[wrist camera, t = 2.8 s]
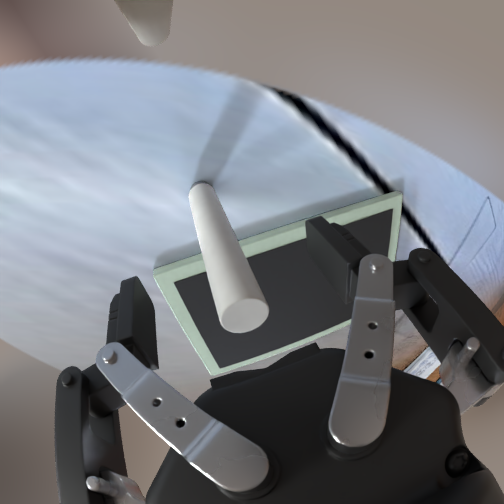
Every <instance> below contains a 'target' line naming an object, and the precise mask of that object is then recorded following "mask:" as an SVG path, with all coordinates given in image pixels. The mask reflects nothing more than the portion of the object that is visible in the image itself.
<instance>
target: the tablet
mask: <svg viewBox="0 0 504 504" xmlns="http://www.w3.org/2000/svg"><path fill="white" fill-rule="evenodd" d="M402 198H403V194H402V193H400V192H399V191H394V192H391V193H388V194H384V195H381V196H378V197H375V198H371V199H368V200H365V201H362V202H358V203H355V204H352V205H349V206H346V207H342V208H339V209H336V210H333V211H330V212H326V213H323V214H320V215H317V216H322V217H324V218H325V219H326V220H327V221H328V222H329V223H333V222H335V223H337V224H339V225H342V226H344V227H345V228H346V229H347V230H348V231H349V232H350V233H351V234H352V235H353V236H354V237H355V238H356V239H357V240H358V241H360V242H361V243H362V244H363V245H364V246H365V247H366V248H367V249H368V250H369V251H370V252H371V253H372V254H380V255H384V256H386V257H388V258H389V259H390V260H391V261H392V262H395V256H396V249H397V242H398V235H399V227H400V218H401V209H402ZM317 216H314V217H317ZM314 217H311V218H314ZM311 218H307V219H304V220H301V221H298V222H295V223H292V224H289V225H286V226H283V227H279V228H276V229H273V230H270V231H267V232H264V233H261V234H258V235H255V236H252V237H249V238H246V239H243V240H240V241H238V242H239V244H240V246H241V248H242V251H243V253H244V255H245V257H246V259H247V261H248V263H249V266H250V268H251V270H252V272H253V274H254V276H255V278H256V280H257V283H258V285H259V287H260V289H261V291H262V293H263V295H264V297H265V300H266V302H267V304H268V306H269V314H268V317H267V319H266V320H265V321H264V322H263V323H262V324H261V325H260V326H259V327H257V328H256V329H254V330H251V331H248V332H244V333H233V332H230V331H227V330H226V329H225V328H223V326H222V325H221V323H220V320H219V316H218V313H217V309H216V306H215V302H214V298H213V295H212V291H211V287H210V283H209V280H208V276H207V272H206V268H205V264H204V260H203V256H202V253H200V254H197V255H194V256H191V257H188V258H185V259H183V260H180V261H177V262H174V263H171V264H168V265H165V266H162V267H159V268H156V269H153V277H154V279H155V281H156V283H157V284H158V286H159V288H160V290H161V292H162V294H163V296H164V297H165V299H166V301H167V303H168V305H169V306H170V308H171V310H172V312H173V313H174V315H175V317H176V319H177V320H178V322H179V324H180V325H181V327H182V329H183V331H184V332H185V334H186V336H187V337H188V339H189V341H190V342H191V344H192V345H193V347H194V349H195V350H196V352H197V353H198V355H199V357H200V358H201V360H202V361H203V363H204V365H205V366H206V368H207V369H208V371H209V372H210V374H211V375H212V376H214V375H217V374H220V373H223V372H227V371H230V370H233V369H236V368H239V367H242V366H245V365H248V364H251V363H254V362H257V361H260V360H263V359H265V358H268V357H271V356H274V355H276V354H279V353H282V352H284V351H287V350H290V349H292V348H295V347H297V346H300V345H302V344H305V343H307V342H310V341H312V340H315V339H317V338H320V337H322V336H324V335H327V334H329V333H331V332H334V331H336V330H338V329H340V328H343V327H345V326H347V325H349V324H351V319H352V313H353V306H354V301H353V302H350V303H348V304H345V303H344V301H343V300H342V299H341V297H340V296H339V295H338V293H337V292H336V291H335V289H334V288H333V287H332V285H331V284H330V283H329V281H328V280H327V279H326V277H325V276H324V275H323V273H322V272H321V271H320V269H319V268H318V267H317V266H316V264H315V263H314V262H313V260H312V259H311V257H310V255H309V252H308V248H307V238H306V228H305V221H306V220H308V219H311Z"/></svg>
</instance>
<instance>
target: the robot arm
mask: <svg viewBox="0 0 504 504" xmlns="http://www.w3.org/2000/svg"><path fill="white" fill-rule="evenodd" d="M305 228H306V238H307V248H308V252H309V255H310V257H311V259H312V260H313V262H314V263H315V264H316V266H317V267H318V268H319V269H320V271H321V272H322V273H323V275H324V276H325V277H326V279H327V280H328V281H329V283H330V284H331V285H332V287H333V288H334V289H335V291H336V292H337V293H338V295H339V296H340V297H341V299H342V300H343V301H344V303H345V304H348V303H350V302H353V301H354V306H353V313H352V319H351V324H350V330H349V336H348V341H347V346H346V350H344V349H337V348H324V349H319V347H318V345H317V343H316V342H315V343H313V344H310V345H308V346H305V347H303V348H300V349H298V350H295V351H293V352H290V353H289V354H287V355H286V356H284V357H283V358H281V359H280V360H278V361H277V362H275V363H273V364H272V365H270V366H269V367H267V368H264V369H256V370H247V371H237V372H233V373H230V374H227V375H224V376H221V377H217V378H214V379H211V380H210V382H211V386H212V388H210V389H208V390H207V391H205V392H204V393H203V394H202V395H201V396H199V397H198V399H197V400H196V401H195V402H194V403H192V402H191V401H189V400H188V399H187V398H185V397H184V396H183V395H181V394H180V393H179V392H178V391H176V390H175V389H174V388H173V387H171V386H170V385H169V384H168V383H166V382H165V381H164V380H163V379H162V378H160V377H159V376H158V375H157V374H156V373H155V372H153V371H152V370H156V369H159V365H158V354H157V340H156V324H155V310H154V306H153V303H152V301H151V299H150V297H149V295H148V294H147V292H146V290H145V288H144V287H143V285H142V283H141V281H140V279H139V278H138V277H137V276H135V277H132V278H129V279H126V280H123V281H122V282H121V287H120V293H119V294H116V295H115V296H114V298H113V300H112V302H111V304H110V311H109V313H110V314H109V321H108V330H107V341H106V345H105V346H104V347H103V348H102V349H101V350H100V351H99V352H98V354H97V357H96V363H95V364H94V365H92V366H90V367H89V368H87V369H85V370H84V371H81V370H80V369H78V368H77V367H74V366H71V367H68V368H66V369H65V370H63V371H62V372H61V374H60V375H59V377H58V380H57V386H56V402H55V462H56V476H57V486H58V494H59V501H60V504H504V494H503V492H502V490H501V489H500V487H499V485H498V483H497V481H496V479H495V477H494V476H493V474H492V473H491V472H490V470H489V469H488V468H486V466H485V465H483V464H482V463H481V462H480V461H479V460H478V459H477V458H476V457H475V456H474V455H473V454H472V453H471V452H470V451H469V449H468V448H467V446H466V444H465V440H464V437H463V433H462V428H461V415H462V414H463V413H465V412H466V411H467V410H468V409H470V408H471V407H472V406H480V405H482V404H483V403H484V402H486V400H487V399H489V398H490V397H491V396H492V395H493V394H494V393H495V392H496V391H497V390H498V389H499V388H500V387H501V386H502V385H503V384H504V327H503V325H502V324H501V323H500V322H499V321H498V319H497V318H496V317H495V316H494V315H493V314H492V312H491V311H490V310H489V309H488V308H487V307H486V305H485V304H484V303H483V302H482V301H481V300H480V299H479V298H478V297H477V295H476V294H475V293H474V292H473V291H472V290H471V289H470V288H469V287H468V286H467V285H466V284H465V283H464V282H463V280H462V279H461V278H460V277H459V276H458V275H457V274H456V273H455V272H454V271H453V270H452V269H451V268H450V267H449V266H448V265H447V264H446V263H445V262H444V261H443V260H442V259H441V258H439V257H438V256H437V255H436V254H435V253H434V252H433V251H431V250H429V249H425V248H417V249H414V250H412V251H411V252H410V254H409V259H408V260H402V261H395V262H392V261H391V260H390V259H389V258H388V257H386V256H384V255H380V254H372V253H371V252H370V251H369V250H368V249H367V248H366V247H365V246H364V245H363V244H362V243H361V242H360V241H358V240H357V239H356V238H355V237H354V236H353V235H352V234H351V233H350V232H349V231H348V230H347V229H346V228H345V227H344V226H342V225H339V224H337V223H335V222H333V223H329V222H328V221H327V220H326V219H325V218H324V217H322V216H317V217H314V218H311V219H308V220H306V221H305ZM429 295H430V296H431V297H432V298H433V299H434V300H433V299H432V298H431V297H430V296H429ZM434 301H435V302H436V303H437V304H436V303H435V302H434ZM400 309H402V310H403V311H404V313H405V314H406V315H407V317H408V318H409V319H410V321H411V322H412V323H413V325H414V326H415V327H416V329H417V330H418V332H419V333H420V334H421V336H422V337H423V338H424V340H425V341H426V343H427V344H428V346H429V347H430V348H431V350H432V351H433V353H434V354H435V356H436V357H437V359H438V360H439V361H440V363H441V365H440V368H439V374H440V377H441V380H442V385H443V386H442V385H440V384H438V383H435V382H432V381H429V380H426V379H424V378H421V377H418V376H415V375H412V374H409V373H406V372H404V371H401V370H398V369H395V368H393V367H392V357H393V344H394V328H395V310H400ZM126 404H128V405H129V406H130V407H131V408H132V409H133V410H134V411H135V412H136V413H137V414H138V416H140V417H141V419H142V420H144V421H145V422H146V423H147V424H148V425H149V426H150V427H151V428H152V429H153V430H154V431H155V432H156V433H157V434H158V435H159V436H160V437H161V438H162V439H164V440H165V441H166V442H167V443H168V444H169V445H170V446H171V447H170V449H169V451H168V453H167V455H166V457H165V459H164V461H163V463H162V465H161V467H160V469H159V471H158V473H157V475H156V477H155V478H154V480H153V482H152V484H151V486H150V488H149V490H148V492H147V495H146V498H145V497H144V496H143V495H142V493H141V491H140V488H139V486H138V485H137V483H136V482H135V481H133V480H132V479H130V478H128V475H127V470H126V464H125V459H124V452H123V446H122V439H121V431H120V422H119V414H118V409H119V408H120V407H122V406H124V405H126Z"/></svg>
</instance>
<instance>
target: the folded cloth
mask: <svg viewBox="0 0 504 504" xmlns="http://www.w3.org/2000/svg"><path fill="white" fill-rule="evenodd" d="M440 364H441V363H440V361H439V360H438V359H437V357H436V356H435V354H434V353H433V351H432V350H431V348H430V347H428V348H427V349H426V350H425V351H424V352H423V353H422V354H421V355H420V356H419V357H418V358H417V359H416V360H414V361H413V362H412V363H411V364H410V365H409V366H408V367H407V368H406V369H405V370H404V372H406V373H409V374H412V375H415V376H418V377H421V378H424V379H426V378H427V377H428V376H429V375H430V374H431V373H432V372H433V371H434V370H435V369H436V368H437V367H438V366H439V365H440Z"/></svg>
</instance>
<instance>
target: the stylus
mask: <svg viewBox="0 0 504 504" xmlns="http://www.w3.org/2000/svg"><path fill="white" fill-rule="evenodd" d="M189 202H190V206H191V211H192V215H193V219H194V224H195V228H196V232H197V236H198V240H199V244H200V248H201V252H202V256H203V260H204V264H205V268H206V272H207V276H208V280H209V283H210V287H211V291H212V295H213V298H214V302H215V306H216V309H217V313H218V316H219V320H220V323H221V325H222V326H223V328H225V329H226V330H227V331H230V332H233V333H244V332H248V331H251V330H254V329H256V328H257V327H259V326H260V325H261V324H262V323H263V322H264V321H265V320H266V319H267V317H268V314H269V306H268V304H267V302H266V300H265V297H264V295H263V293H262V291H261V289H260V287H259V285H258V283H257V280H256V278H255V276H254V274H253V272H252V270H251V268H250V266H249V263H248V261H247V259H246V257H245V255H244V253H243V251H242V248H241V246H240V244H239V242H238V240H237V238H236V236H235V233H234V231H233V229H232V227H231V225H230V223H229V221H228V218H227V216H226V214H225V212H224V210H223V208H222V205H221V203H220V201H219V199H218V197H217V195H216V192H215V190H214V189H213V187H212V186H210V185H209V184H207V183H206V182H203V181H199V182H196V183H194V184H193V185H192V187H191V189H190V192H189Z"/></svg>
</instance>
